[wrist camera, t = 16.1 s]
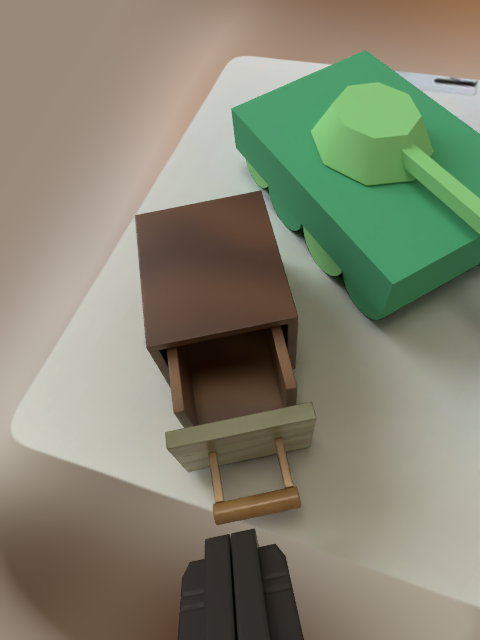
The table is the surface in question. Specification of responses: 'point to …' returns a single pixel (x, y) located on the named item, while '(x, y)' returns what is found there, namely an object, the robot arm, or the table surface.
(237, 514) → the drawer
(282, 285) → the cabinet
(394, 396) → the table surface
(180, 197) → the table surface
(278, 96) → the toy tank
